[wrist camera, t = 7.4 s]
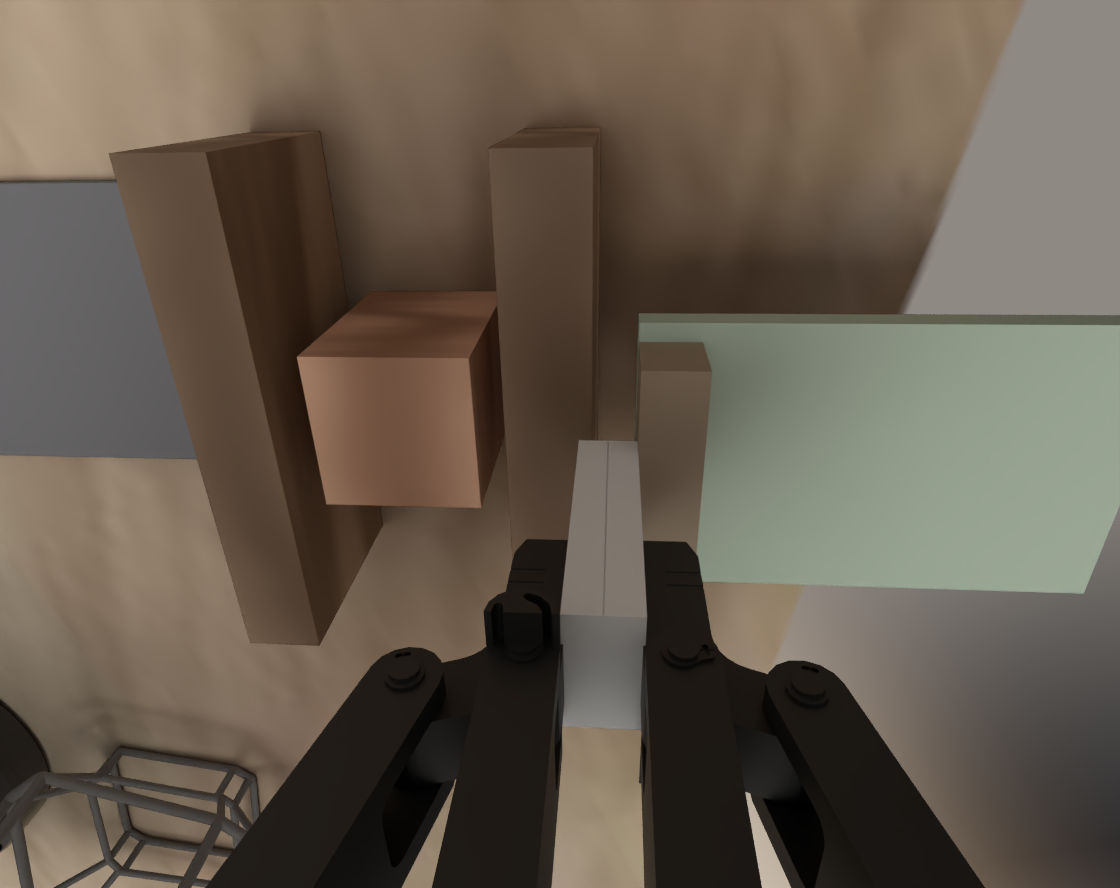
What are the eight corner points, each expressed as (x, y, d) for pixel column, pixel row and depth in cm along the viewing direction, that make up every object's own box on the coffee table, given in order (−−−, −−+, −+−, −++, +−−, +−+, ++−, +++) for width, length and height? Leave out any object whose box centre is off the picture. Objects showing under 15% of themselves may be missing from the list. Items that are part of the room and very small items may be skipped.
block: (389, 412, 29) (326, 504, 23) (372, 290, 26) (296, 356, 20) (511, 413, 28) (481, 508, 22) (504, 291, 26) (468, 358, 20)
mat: (-30, 448, 31) (-41, 454, 30) (-149, 183, 26) (-165, 185, 25) (211, 452, 30) (204, 459, 30) (136, 180, 25) (125, 182, 25)
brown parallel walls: (327, 523, 32) (250, 642, 25) (248, 132, 24) (109, 153, 18) (597, 530, 31) (591, 656, 24) (600, 127, 23) (593, 147, 17)
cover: (630, 563, 22) (631, 624, 20) (638, 313, 18) (641, 350, 16) (1068, 576, 21) (1127, 642, 19) (1169, 315, 17) (1261, 355, 15)
